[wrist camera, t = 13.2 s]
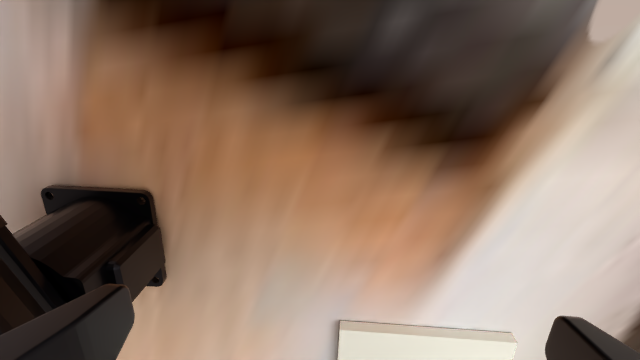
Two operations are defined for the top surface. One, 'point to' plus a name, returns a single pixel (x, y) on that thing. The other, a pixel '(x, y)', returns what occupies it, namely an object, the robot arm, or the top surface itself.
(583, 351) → the robot arm
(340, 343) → the cream board
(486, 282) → the top surface
